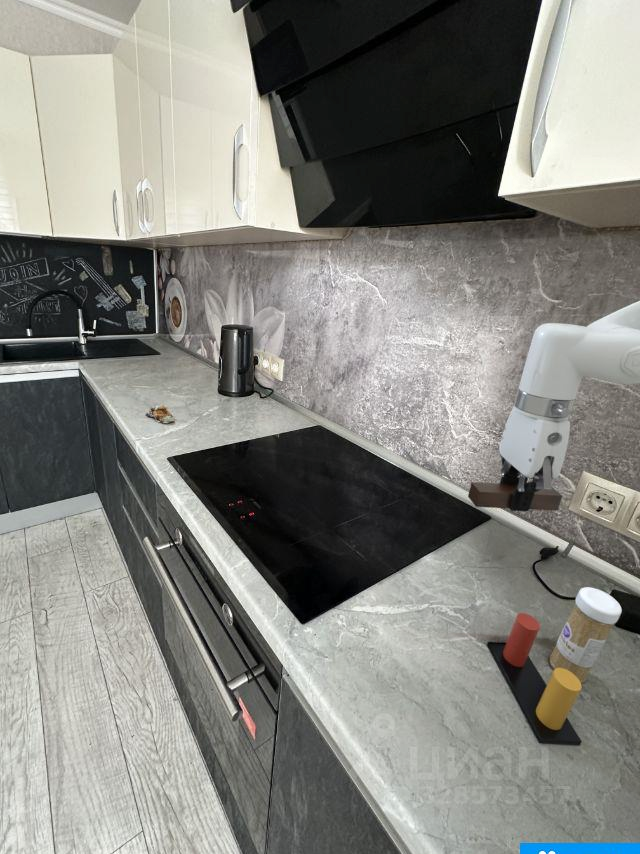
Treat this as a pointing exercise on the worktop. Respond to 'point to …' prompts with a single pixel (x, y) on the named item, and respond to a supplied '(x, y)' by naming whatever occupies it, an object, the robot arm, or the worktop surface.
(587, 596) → the sprinkles bottle
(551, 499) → the walnut bar
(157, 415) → the brown grey rock
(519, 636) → the rod stand
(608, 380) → the robot arm
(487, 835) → the worktop surface
